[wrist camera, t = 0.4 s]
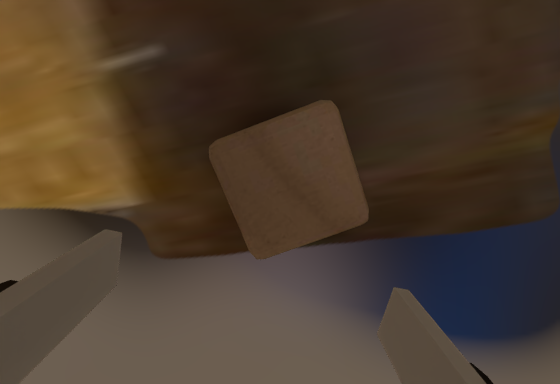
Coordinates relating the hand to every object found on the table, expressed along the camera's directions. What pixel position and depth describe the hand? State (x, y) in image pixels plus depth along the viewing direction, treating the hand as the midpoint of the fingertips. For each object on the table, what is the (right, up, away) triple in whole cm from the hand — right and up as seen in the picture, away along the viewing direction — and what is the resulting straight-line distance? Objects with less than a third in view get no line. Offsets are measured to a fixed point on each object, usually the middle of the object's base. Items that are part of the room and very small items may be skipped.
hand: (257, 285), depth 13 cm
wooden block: (+1, +9, +26) cm, 28 cm away
